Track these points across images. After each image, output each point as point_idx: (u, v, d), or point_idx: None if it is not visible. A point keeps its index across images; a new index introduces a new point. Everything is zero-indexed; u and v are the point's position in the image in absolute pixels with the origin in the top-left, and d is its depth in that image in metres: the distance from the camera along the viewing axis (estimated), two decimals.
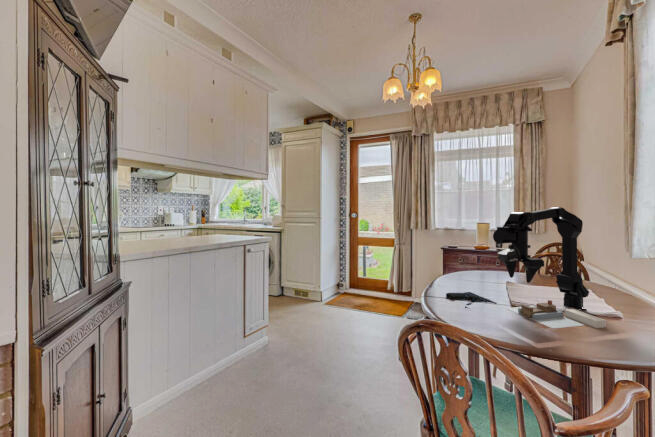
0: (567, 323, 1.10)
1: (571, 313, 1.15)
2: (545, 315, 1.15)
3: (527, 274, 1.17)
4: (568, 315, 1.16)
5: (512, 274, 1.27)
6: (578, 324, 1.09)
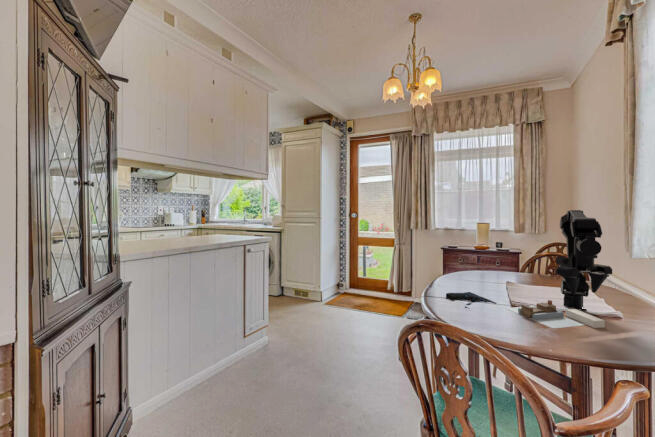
0: (567, 323, 1.10)
1: (571, 313, 1.15)
2: (545, 315, 1.15)
3: None
4: (568, 315, 1.16)
5: (594, 288, 1.12)
6: (578, 324, 1.09)
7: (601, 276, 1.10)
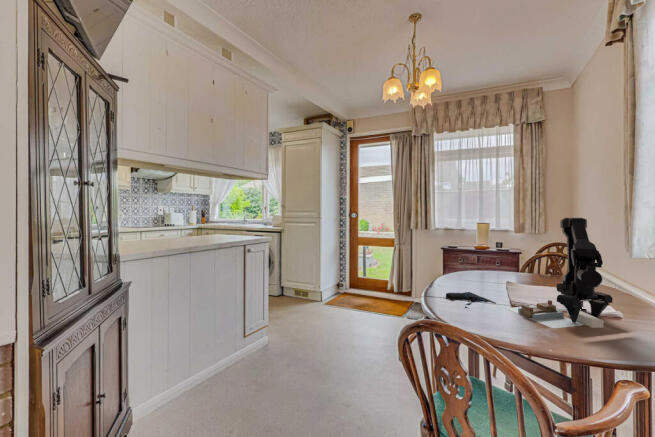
0: (567, 323, 1.10)
1: None
2: (545, 315, 1.15)
3: None
4: (569, 315, 1.16)
5: (594, 316, 1.12)
6: (578, 324, 1.09)
7: (601, 305, 1.10)
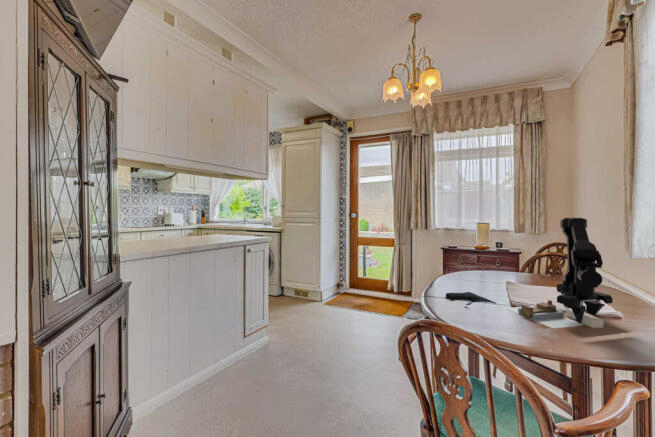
0: (567, 323, 1.10)
1: (571, 312, 1.15)
2: (545, 315, 1.15)
3: None
4: (569, 314, 1.16)
5: None
6: (578, 324, 1.09)
7: (597, 305, 1.10)
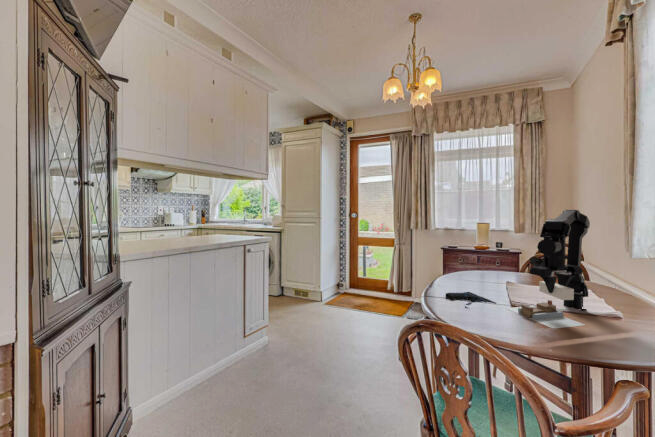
0: (567, 323, 1.10)
1: (544, 284, 1.18)
2: (545, 315, 1.15)
3: None
4: (542, 286, 1.19)
5: None
6: (578, 324, 1.09)
7: (567, 276, 1.13)
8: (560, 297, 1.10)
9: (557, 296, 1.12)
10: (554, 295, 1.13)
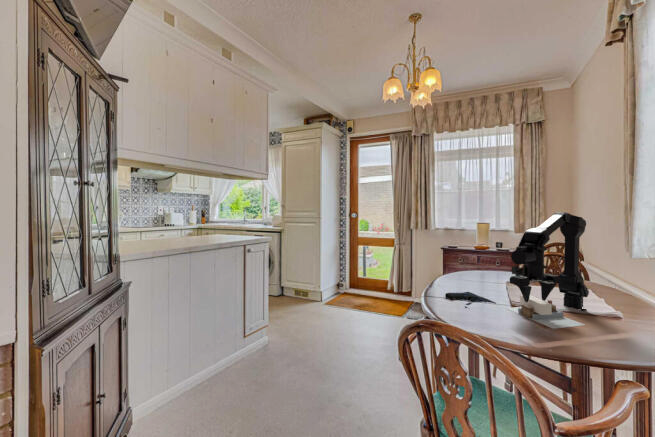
0: (567, 323, 1.10)
1: None
2: (545, 315, 1.15)
3: None
4: (522, 300, 1.23)
5: (544, 297, 1.18)
6: (578, 324, 1.09)
7: (549, 285, 1.17)
8: (538, 312, 1.14)
9: (536, 311, 1.15)
10: (533, 309, 1.16)
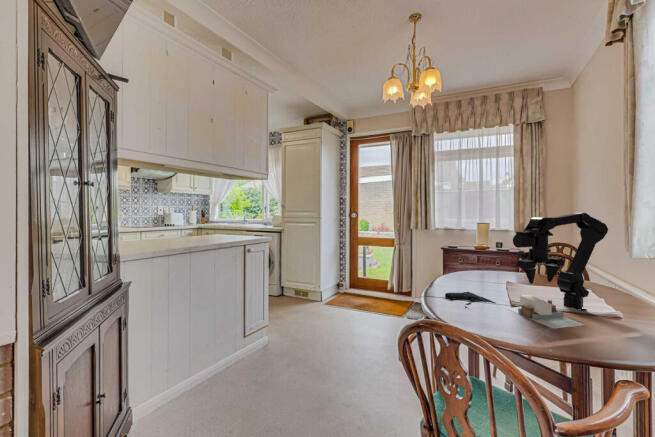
0: (567, 323, 1.10)
1: (524, 298, 1.22)
2: (545, 315, 1.15)
3: None
4: (522, 300, 1.23)
5: (549, 278, 1.28)
6: (578, 324, 1.09)
7: (555, 267, 1.26)
8: (538, 312, 1.14)
9: (536, 311, 1.15)
10: (533, 309, 1.16)
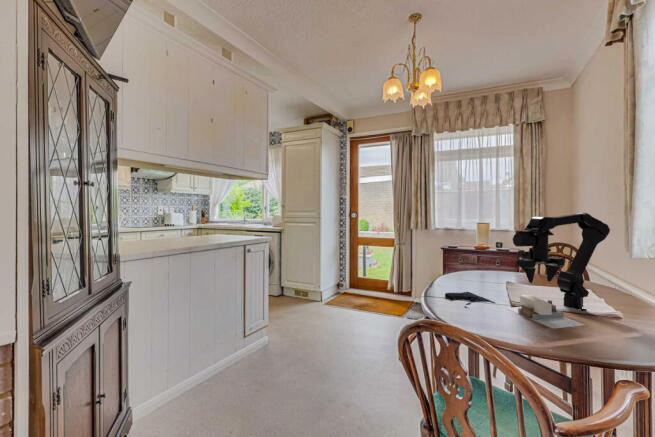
0: (567, 323, 1.10)
1: (524, 298, 1.22)
2: (545, 315, 1.15)
3: None
4: (522, 300, 1.23)
5: (549, 278, 1.28)
6: (578, 324, 1.09)
7: (554, 267, 1.26)
8: (538, 312, 1.14)
9: (536, 311, 1.15)
10: (533, 309, 1.16)
